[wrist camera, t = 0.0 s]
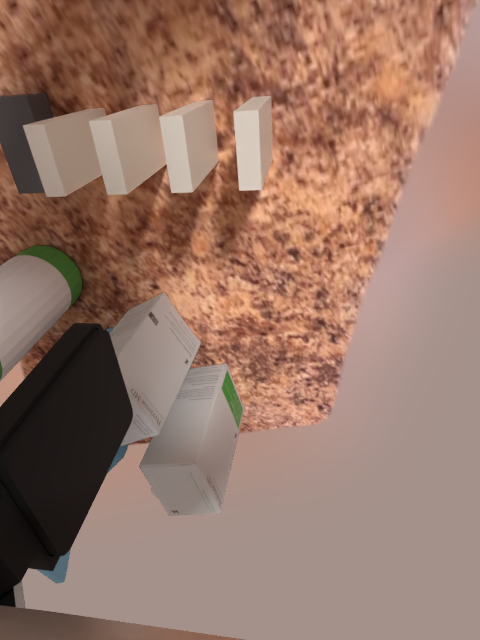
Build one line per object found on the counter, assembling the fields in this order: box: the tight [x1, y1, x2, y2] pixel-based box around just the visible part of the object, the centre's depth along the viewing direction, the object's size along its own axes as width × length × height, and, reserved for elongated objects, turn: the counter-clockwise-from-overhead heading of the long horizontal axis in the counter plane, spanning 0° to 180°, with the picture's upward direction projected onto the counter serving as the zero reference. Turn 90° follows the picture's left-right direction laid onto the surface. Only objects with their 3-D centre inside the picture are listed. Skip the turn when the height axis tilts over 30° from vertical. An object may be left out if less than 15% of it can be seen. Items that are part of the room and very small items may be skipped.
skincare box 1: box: [110, 293, 201, 447], centre depth 43 cm, size 8×6×15 cm
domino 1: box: [23, 108, 106, 197], centre depth 33 cm, size 2×5×10 cm, turn 4°
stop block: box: [0, 93, 53, 194], centre depth 37 cm, size 8×4×3 cm, turn 4°
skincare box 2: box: [139, 363, 244, 516], centre depth 47 cm, size 8×7×16 cm
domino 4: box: [234, 96, 273, 191], centre depth 31 cm, size 2×5×10 cm, turn 4°
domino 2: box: [89, 104, 167, 195], centre depth 33 cm, size 2×5×10 cm, turn 4°
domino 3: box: [159, 100, 219, 193], centre depth 32 cm, size 2×5×10 cm, turn 5°
